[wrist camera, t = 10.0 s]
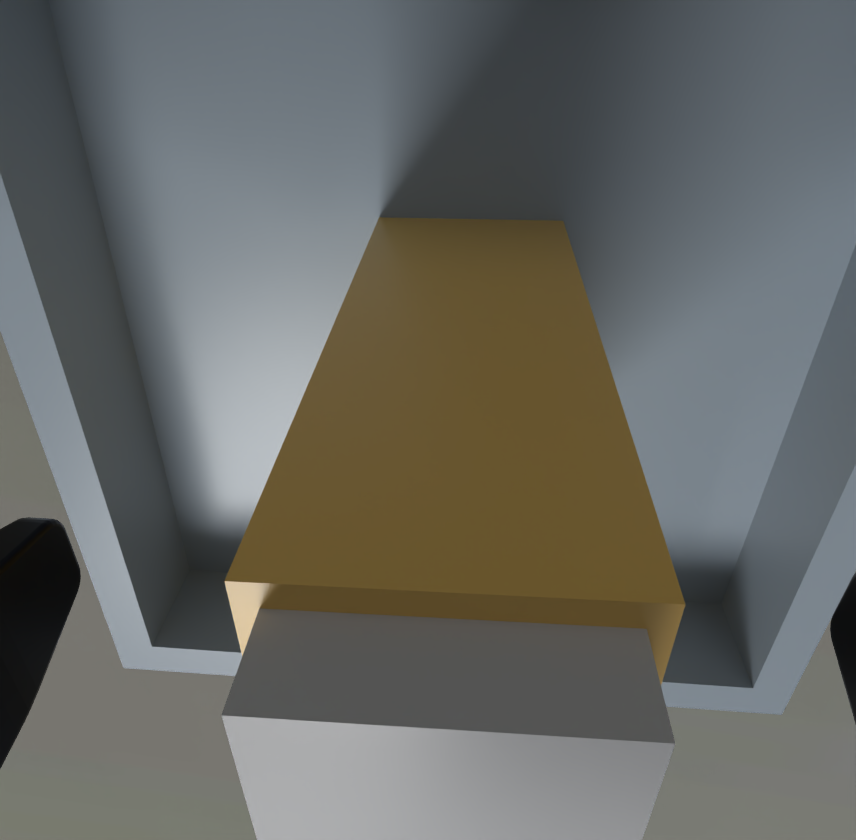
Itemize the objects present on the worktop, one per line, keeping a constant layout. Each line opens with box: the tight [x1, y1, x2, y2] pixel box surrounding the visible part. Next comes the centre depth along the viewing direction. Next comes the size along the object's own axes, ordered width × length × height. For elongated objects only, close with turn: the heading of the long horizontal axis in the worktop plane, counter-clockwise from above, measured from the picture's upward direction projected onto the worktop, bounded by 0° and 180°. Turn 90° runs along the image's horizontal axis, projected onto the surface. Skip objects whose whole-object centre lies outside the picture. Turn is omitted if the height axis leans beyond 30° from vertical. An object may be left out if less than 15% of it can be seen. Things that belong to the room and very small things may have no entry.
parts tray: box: [0, 0, 856, 715], centre depth 12 cm, size 14×14×3 cm
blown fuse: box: [222, 217, 685, 840], centre depth 9 cm, size 3×4×9 cm, turn 0°
